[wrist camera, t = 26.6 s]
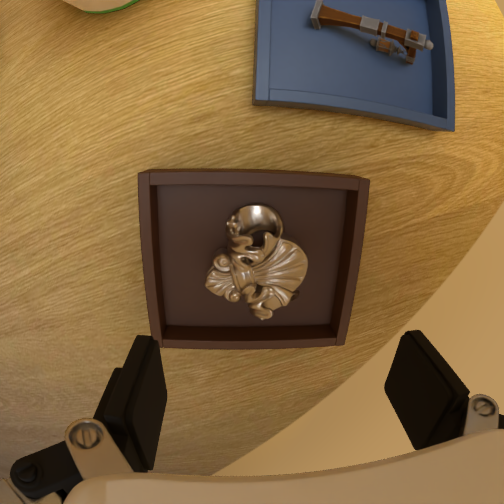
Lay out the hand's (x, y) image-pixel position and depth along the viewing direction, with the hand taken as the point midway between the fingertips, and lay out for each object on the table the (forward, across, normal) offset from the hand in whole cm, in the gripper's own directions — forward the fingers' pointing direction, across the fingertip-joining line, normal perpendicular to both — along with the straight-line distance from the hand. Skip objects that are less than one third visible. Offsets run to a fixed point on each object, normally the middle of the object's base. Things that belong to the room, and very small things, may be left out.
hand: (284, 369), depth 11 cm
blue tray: (+13, -6, -17) cm, 22 cm away
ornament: (+12, 0, 0) cm, 12 cm away
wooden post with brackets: (+12, -7, -17) cm, 22 cm away
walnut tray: (+12, +1, 0) cm, 13 cm away
